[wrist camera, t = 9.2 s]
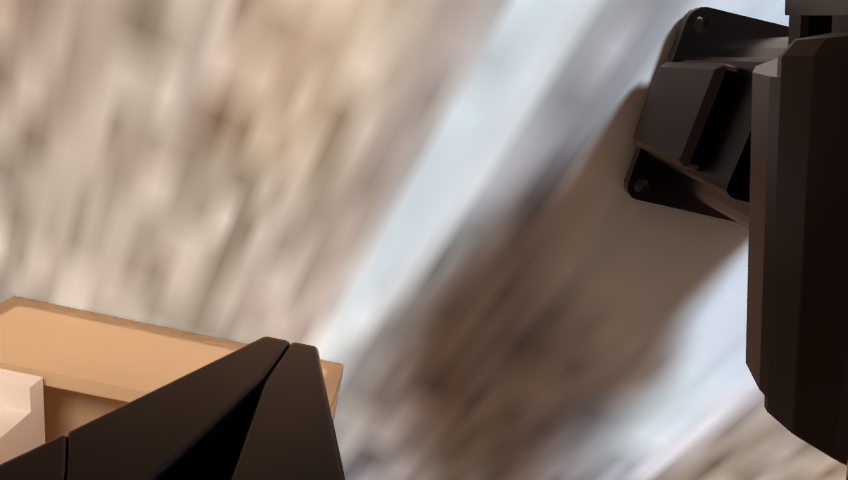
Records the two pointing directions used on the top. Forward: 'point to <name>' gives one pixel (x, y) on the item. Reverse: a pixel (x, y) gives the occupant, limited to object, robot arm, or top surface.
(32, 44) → the top surface
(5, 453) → the lid
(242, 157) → the top surface
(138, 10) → the top surface
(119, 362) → the mailer box
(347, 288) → the top surface
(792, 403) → the robot arm
